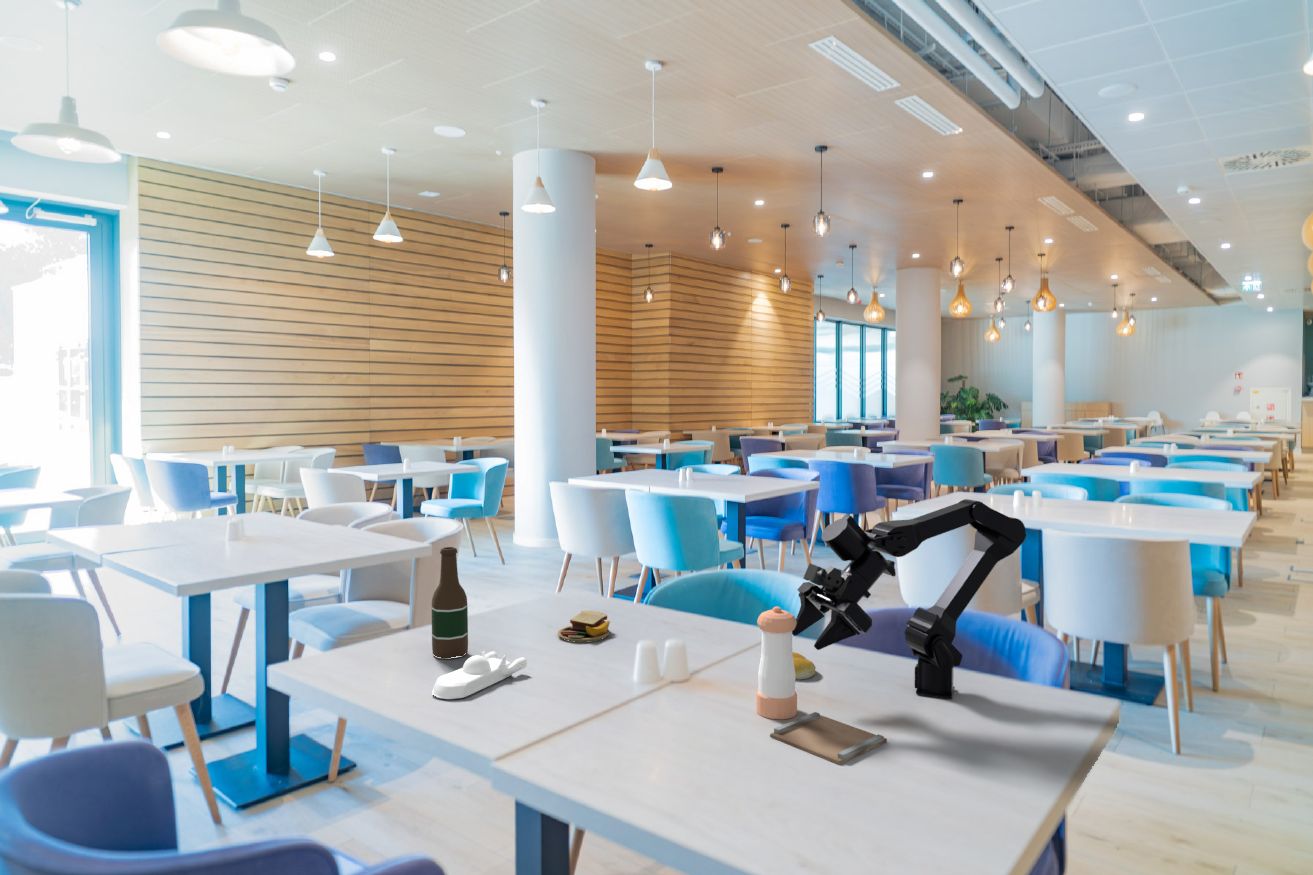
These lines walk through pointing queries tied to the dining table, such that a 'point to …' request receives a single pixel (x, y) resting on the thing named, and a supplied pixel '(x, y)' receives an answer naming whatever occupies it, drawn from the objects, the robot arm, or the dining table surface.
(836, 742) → the serving tray
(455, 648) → the beer bottle
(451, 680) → the white elongated plastic piece
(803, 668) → the bread roll
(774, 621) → the pepper shaker
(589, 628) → the toy sandwich meal
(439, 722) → the dining table surface
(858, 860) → the dining table surface
